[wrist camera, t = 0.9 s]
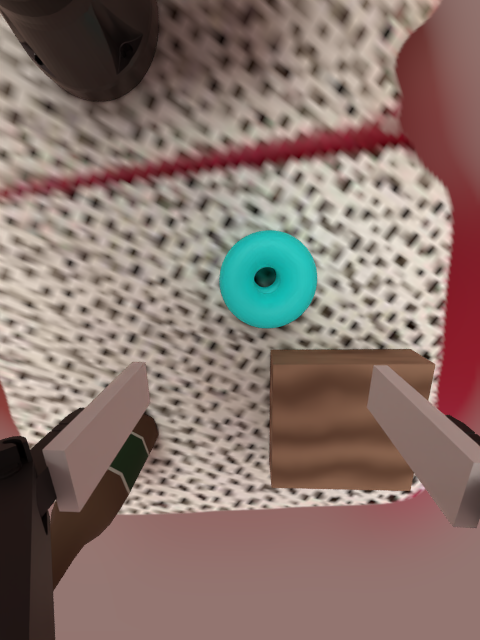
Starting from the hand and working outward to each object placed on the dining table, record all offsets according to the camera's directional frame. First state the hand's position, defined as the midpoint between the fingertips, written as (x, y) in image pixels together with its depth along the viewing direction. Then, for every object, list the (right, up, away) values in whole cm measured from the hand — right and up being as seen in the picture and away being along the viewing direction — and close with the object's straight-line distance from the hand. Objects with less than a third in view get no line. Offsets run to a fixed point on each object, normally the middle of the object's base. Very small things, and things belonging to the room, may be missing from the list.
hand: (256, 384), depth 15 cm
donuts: (+2, +10, +20) cm, 22 cm away
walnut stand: (+14, -10, +24) cm, 30 cm away
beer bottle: (-18, -14, +27) cm, 36 cm away
